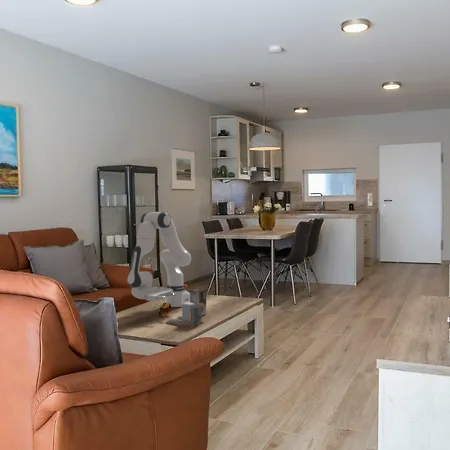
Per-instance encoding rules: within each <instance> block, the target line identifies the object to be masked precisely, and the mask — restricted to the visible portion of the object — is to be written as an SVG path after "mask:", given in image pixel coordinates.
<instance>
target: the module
mask: <svg viewBox="0 0 450 450" xmlns="http://www.w3.org/2000/svg"><path fill="white" fill-rule="evenodd" d="M194 307H195V304H194V303H189V302H187V303H183V304H182V307H181V310H182V311H181V316H182V321H187V322H190V311H191V308H194Z"/></svg>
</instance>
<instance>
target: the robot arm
mask: <svg viewBox="0 0 450 450" xmlns="http://www.w3.org/2000/svg"><path fill="white" fill-rule="evenodd" d="M140 217H141V218H140V224H139V228H138V231H137V242H136V244H135V247H134V248H133V251H132V256H131V259H130V265H129V270H128V273H127V278H126V282H127V284H128V286H129V287H131V295H132V296H133V297H135V298H137V299H138V300H139V299H140V300H146V301H148V302H157V301H160V300H165V301H164V304H165V303H170V304H171V308H180V307H181V308H182V304H183V303H187V302H189V303H190V292H189V291H187V290H186V288H188V284H184V273H183V272H182V270H181V269H180V267H185V266H186V267H187V266H189V265H190V264H191V261H192V255H191V253H190V252H189V251H187V249H186V248H185V247H184V246H183V244H182V243H181V241H180V238H179V235H178V232H177V229H176V225H175V223H174V220H173V219H172V218H171V216H170V214H169V213H167V212H164V211H162V212H161V211H153V212H152V211H151V212H145V213H143V214H142V215H141V216H140ZM156 229H158V230H159V234H160V238H161V242H162V244H163V246H164V247H165V249H163V250H162V251H161V252H160V254H159V259H160V261H161V262H162V264H163V266H164V268H165V271H166V276H167V278H166V279H167V284H166V287H163V286H153V283H154V275H153V274H152V273H151V271H148V270H147V271H140V266H141V261H142V258H143V257H144V256H145V255H146V254H149V253H150V252H151V251H153V249H154V248H155V244H156V243H155V241H156V240H155V237H156V233H155V231H156Z"/></svg>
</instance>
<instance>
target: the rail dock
mask: <svg viewBox="0 0 450 450" xmlns="http://www.w3.org/2000/svg"><path fill="white" fill-rule="evenodd" d="M165 324H167V325H172V326H176V325H177V326H178V327H181V326H182V328H186V327H187V329H190V327H191V328H192V327H193V328H194V327H196V326H198V325H202V324H204V320H202V315H201V306H198V307H194V308H191V322H187V321H182V315H178V317H177V318H171V317H170V318H169V320H167V321H165Z"/></svg>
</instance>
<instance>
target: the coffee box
mask: <svg viewBox="0 0 450 450" xmlns="http://www.w3.org/2000/svg"><path fill="white" fill-rule="evenodd" d="M189 293H190V303H194V304H195V307H198V306H201V316H205V315H207V290H206V289H203V288H198V289H196V288H195V289H192V290H189Z"/></svg>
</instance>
